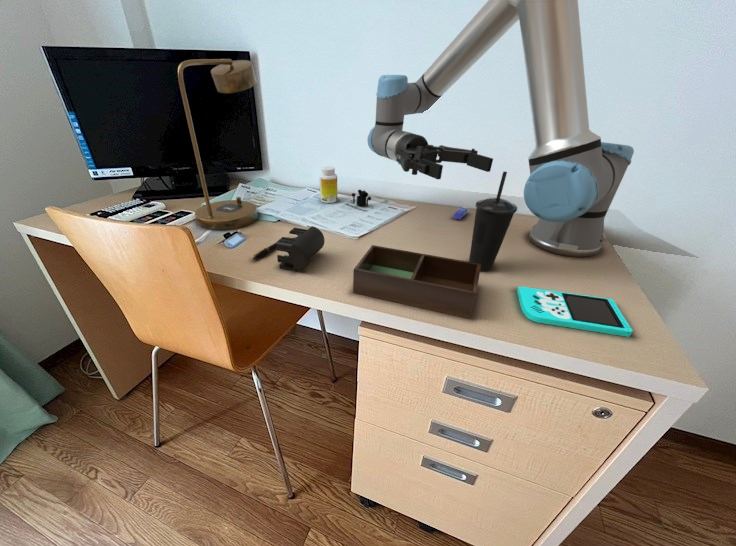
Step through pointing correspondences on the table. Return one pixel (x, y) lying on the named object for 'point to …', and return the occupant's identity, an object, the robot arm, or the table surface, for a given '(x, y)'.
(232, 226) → the lamp
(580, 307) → the handheld game console
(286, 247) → the end cap
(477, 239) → the drinking cup
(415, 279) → the divided storage box
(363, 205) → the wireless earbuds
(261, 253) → the fountain pen
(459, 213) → the eraser
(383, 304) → the table surface
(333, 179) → the supplement bottle
